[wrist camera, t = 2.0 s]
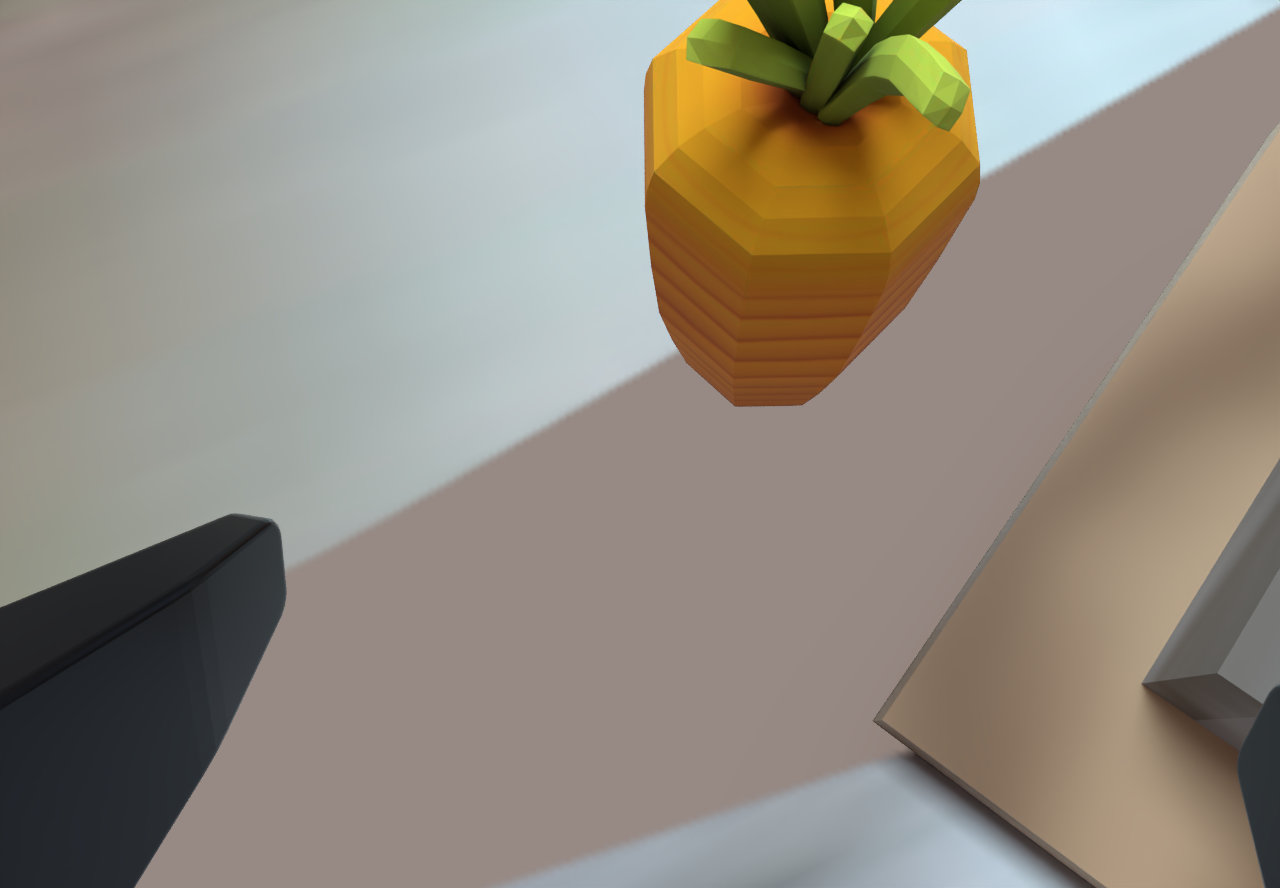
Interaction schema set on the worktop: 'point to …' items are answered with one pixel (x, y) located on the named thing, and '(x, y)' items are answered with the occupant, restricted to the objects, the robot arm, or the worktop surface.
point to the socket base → (1134, 592)
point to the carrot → (801, 183)
